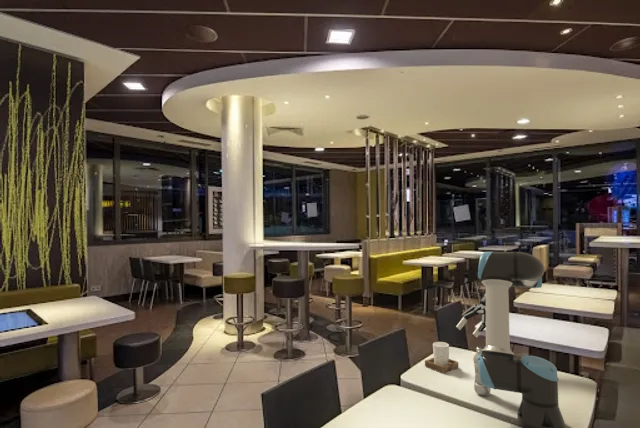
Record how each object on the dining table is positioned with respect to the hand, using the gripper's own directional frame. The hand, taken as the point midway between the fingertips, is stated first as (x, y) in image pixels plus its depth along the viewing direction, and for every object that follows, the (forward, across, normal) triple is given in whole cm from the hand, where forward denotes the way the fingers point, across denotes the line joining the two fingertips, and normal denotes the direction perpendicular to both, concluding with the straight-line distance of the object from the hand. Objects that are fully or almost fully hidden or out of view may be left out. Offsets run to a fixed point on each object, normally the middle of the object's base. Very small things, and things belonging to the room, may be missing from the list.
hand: (466, 331), depth 196 cm
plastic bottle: (+22, -29, -3) cm, 37 cm away
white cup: (+21, +1, -1) cm, 21 cm away
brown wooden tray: (+22, +1, -2) cm, 22 cm away
